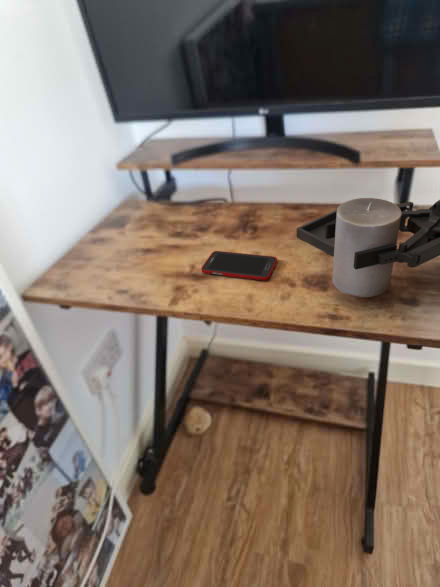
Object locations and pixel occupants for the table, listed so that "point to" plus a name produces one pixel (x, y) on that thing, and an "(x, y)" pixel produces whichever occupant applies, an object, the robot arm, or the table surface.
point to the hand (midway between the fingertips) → (339, 245)
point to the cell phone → (240, 265)
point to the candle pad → (318, 233)
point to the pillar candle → (363, 244)
